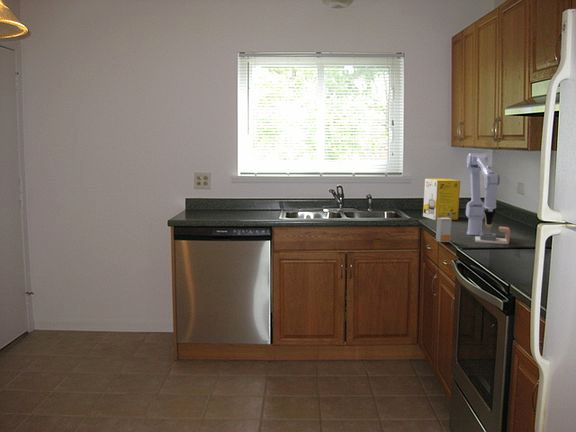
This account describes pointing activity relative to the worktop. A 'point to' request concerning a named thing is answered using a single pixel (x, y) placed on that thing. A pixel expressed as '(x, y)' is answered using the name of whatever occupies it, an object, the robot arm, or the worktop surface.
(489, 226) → the peg
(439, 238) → the skincare box
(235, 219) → the worktop surface
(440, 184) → the packaging box
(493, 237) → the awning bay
